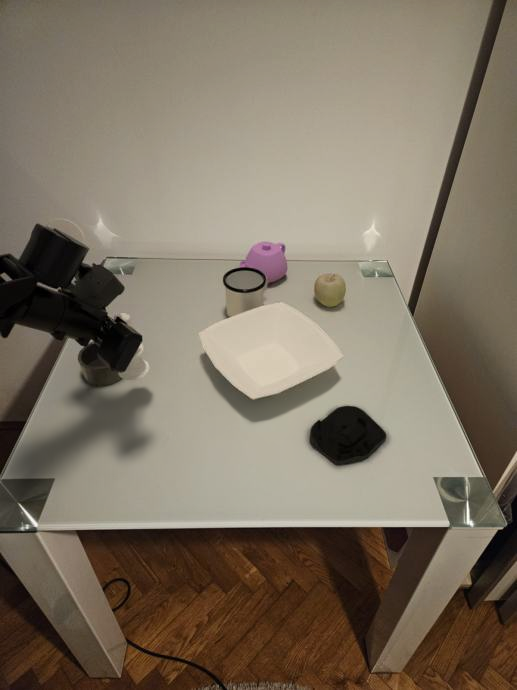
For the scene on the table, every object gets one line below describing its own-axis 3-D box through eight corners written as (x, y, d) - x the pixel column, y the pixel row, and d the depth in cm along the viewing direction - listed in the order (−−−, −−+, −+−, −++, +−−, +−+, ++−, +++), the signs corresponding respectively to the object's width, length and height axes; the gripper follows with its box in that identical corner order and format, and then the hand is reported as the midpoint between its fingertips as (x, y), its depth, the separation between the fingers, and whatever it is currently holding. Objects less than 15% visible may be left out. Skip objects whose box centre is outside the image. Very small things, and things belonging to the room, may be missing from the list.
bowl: (190, 353, 89) (187, 332, 85) (283, 317, 98) (285, 296, 95) (247, 428, 75) (247, 407, 71) (350, 377, 84) (354, 356, 80)
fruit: (350, 302, 103) (355, 273, 98) (331, 315, 99) (335, 286, 94) (325, 289, 107) (329, 260, 102) (305, 301, 103) (308, 272, 98)
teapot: (298, 275, 111) (301, 242, 105) (254, 297, 104) (255, 263, 98) (270, 259, 117) (271, 227, 111) (227, 279, 110) (225, 246, 103)
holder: (83, 389, 81) (77, 372, 78) (84, 359, 87) (78, 343, 84) (129, 381, 83) (125, 364, 80) (127, 352, 89) (122, 335, 86)
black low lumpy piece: (346, 401, 80) (350, 383, 76) (392, 434, 74) (398, 415, 71) (302, 437, 74) (304, 419, 70) (348, 476, 68) (353, 458, 65)
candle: (112, 377, 74) (96, 321, 67) (128, 356, 78) (114, 302, 70) (140, 383, 73) (127, 327, 65) (155, 363, 77) (144, 308, 69)
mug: (246, 330, 95) (245, 296, 89) (215, 312, 99) (213, 278, 93) (280, 306, 101) (282, 272, 95) (250, 290, 106) (250, 257, 100)
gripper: (117, 287, 53) (194, 320, 67) (47, 236, 63) (126, 273, 76) (74, 364, 54) (158, 382, 68) (11, 302, 64) (95, 328, 77)
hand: (134, 337), depth 72 cm, fingers closed on candle, 2 cm apart
